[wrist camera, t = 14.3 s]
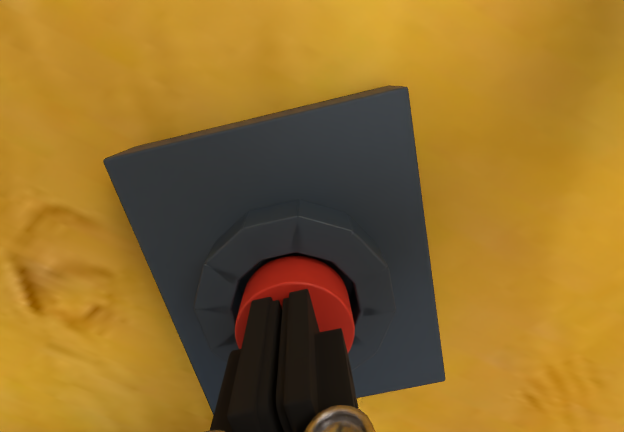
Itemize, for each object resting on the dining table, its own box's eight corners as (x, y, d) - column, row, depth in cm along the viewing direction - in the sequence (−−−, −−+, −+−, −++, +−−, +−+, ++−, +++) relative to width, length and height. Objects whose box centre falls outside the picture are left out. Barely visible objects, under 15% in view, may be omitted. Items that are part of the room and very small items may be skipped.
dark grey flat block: (133, 146, 14) (71, 171, 10) (390, 84, 13) (425, 87, 10) (228, 383, 18) (208, 462, 14) (427, 343, 18) (461, 414, 14)
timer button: (229, 267, 12) (218, 297, 10) (336, 244, 12) (342, 270, 10) (259, 352, 13) (253, 391, 12) (357, 333, 13) (364, 369, 11)
